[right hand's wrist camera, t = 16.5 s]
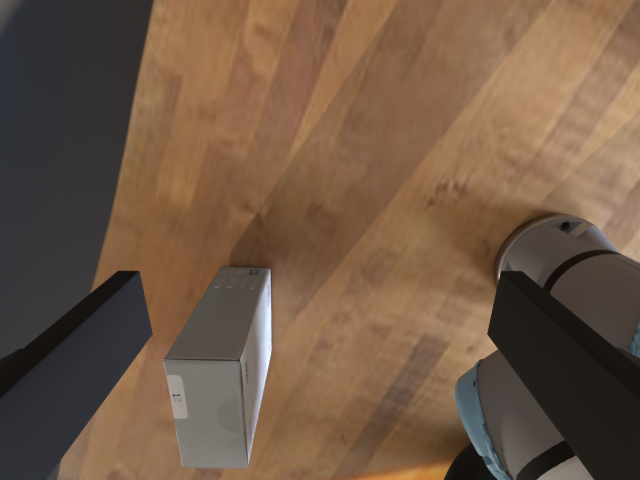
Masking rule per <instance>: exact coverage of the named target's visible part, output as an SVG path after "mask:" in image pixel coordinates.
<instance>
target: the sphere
mask: <svg viewBox="0 0 640 480" xmlns="http://www.w3.org/2000/svg"><path fill="white" fill-rule="evenodd" d="M444 480H498V479H497V478H496V477H495V476H494V475H493V474H492V473H491V471H490V470H489V469H488V467H487V466H486V464H485V462H484V459H483V457H482V456H480V455H479V454H478V452H477V451H476V449H475V447H474V445H473V444H472V443H471V444H470V445H468V446H467V447H466V448H465V449H464V450H463V451H462V452H461V453H460V454H459V455H458V456H457V457H456V459H455V460H454V461H453V463H452V464H451V466H450V468H449V469H448V471H447V474H446V476H445V478H444Z"/></svg>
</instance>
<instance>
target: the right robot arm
mask: <svg viewBox="0 0 640 480" xmlns="http://www.w3.org/2000/svg"><path fill="white" fill-rule="evenodd" d="M494 278H495V282H496V285H497V291H496V295H495V300H494V305H493V310H492V314H491V319H490V324H489V329H488V333H487V334H488V336H489V337H490V338H491V340H492V341H493V343H494V344H495V345H496V347H497V348H498V350H497V351H495V352H494V353H492V354H491V355H489V356H488V357H486V358H485V359H481V360H479V361H478V362H477V363H476V364H475V366H474V367H473V368H471V369H470V370H469V371H467V372H466V373H465V374H464V375H462V376H461V377H460V378H459V379H458V381H457V383H456V387H455V400H456V405H457V408H458V412H459V415H460V417H461V420H462V423H463V425H464V427H465V429H466V432H467V434H468V436H469V438H470V440H471V442H472V444H473V445H474V447H475V449H476V451H477V452H478V454H479V455H480V456H482V457H483V459H484V462H485V464H486V466H487V467H488V469H489V470H490V471H491V473H492V474H493V475H494V476H495V477H496V478H497V479H498V480H640V263H639V262H637V261H635V260H633V259H631V258H628V257H626V256H624V255H622V254H620V253H619V252H618V250H617V249H616V248H615V247H614V246H613V245H612V243H611V242H610V241H609V240H608V239H607V238H606V236H605V235H604V234H603V233H602V232H601V231H600V230H599V229H598V228H597V227H596V226H595V225H593V224H592V223H590V222H588V221H585V220H583V219H581V218H578V217H576V216H572V215H567V214H551V215H546V216H542V217H539V218H536V219H533V220H531V221H529V222H527V223H526V224H524V225H522V226H521V227H520V228H518V229H517V230H516V231H514V232H513V233H512V234H511V235H510V236H509V237H508V239H507V240H506V241H505V242H504V244H503V245H502V247H501V248H500V250H499V252H498V255H497V257H496V260H495V265H494ZM152 334H153V333H152V329H151V324H150V319H149V314H148V310H147V305H146V300H145V295H144V291H143V286H142V281H141V277H140V272H139V271H117V272H116V273H115V274H114V275H113V276H111V277H110V278H109V279H108V280H106V281H105V282H104V283H103V284H102V285H100V286H99V287H98V288H97V289H95V290H94V291H93V292H92V293H91V294H89V295H88V296H87V297H86V298H85V299H83V300H82V301H81V302H80V303H78V304H77V305H76V306H75V307H74V308H72V309H71V310H70V311H69V312H67V313H66V314H65V315H64V316H63V317H61V318H60V319H59V320H58V321H56V322H55V323H54V324H53V325H52V326H50V327H49V328H48V329H47V330H45V331H44V332H43V333H42V334H41V335H39V336H38V337H37V338H36V339H35V340H33V341H32V342H31V343H30V344H28V345H27V346H26V347H25V348H24V349H19V350H17V351H15V352H13V353H12V354H10V355H8V356H6V357H4V358H2V359H0V480H46V479H47V478H48V476H49V475H50V474H51V472H52V471H53V470H54V468H55V467H56V465H57V464H58V463H59V461H60V460H61V459H62V457H63V456H64V455H65V453H66V452H67V450H68V449H69V448H70V446H71V445H72V444H73V442H74V441H75V440H76V438H77V437H78V435H79V434H80V433H81V431H82V430H83V429H84V427H85V426H86V424H87V423H88V422H89V420H90V419H91V418H92V416H93V415H94V414H95V412H96V411H97V409H98V408H99V407H100V405H101V404H102V403H103V401H104V400H105V399H106V397H107V396H108V394H109V393H110V392H111V390H112V389H113V388H114V386H115V385H116V384H117V382H118V381H119V379H120V378H121V377H122V375H123V374H124V373H125V371H126V370H127V368H128V367H129V366H130V364H131V363H132V362H133V360H134V359H135V358H136V356H137V355H138V353H139V352H140V351H141V349H142V348H143V347H144V345H145V344H146V343H147V341H148V340H149V338H150V337H151V336H152Z"/></svg>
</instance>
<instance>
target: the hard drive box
mask: <svg viewBox="0 0 640 480" xmlns="http://www.w3.org/2000/svg"><path fill="white" fill-rule="evenodd" d="M271 350H272V347H271V275H270V269H268V268H256V267H221V268H220V269H219V271H218V272H217V274H216V276H215V277H214V279H213V281H212V282H211V284H210V285H209V287H208V289H207V290H206V292H205V294H204V295H203V297H202V299H201V300H200V302H199V303H198V305H197V307H196V308H195V310H194V312H193V313H192V315H191V317H190V318H189V320H188V322H187V323H186V325H185V326H184V328H183V330H182V331H181V333H180V335H179V336H178V338H177V339H176V341H175V343H174V344H173V346H172V347H171V349H170V351H169V352H168V354H167V356H166V357H165V358H164V359H163V362H164V367H165V372H166V379H167V385H168V390H169V396H170V401H171V406H172V412H173V417H174V421H175V426H176V433H177V439H178V444H179V450H180V455H181V461H182V466H183V467H196V468H236V469H246V468H247V467H248V464H249V459H250V454H251V449H252V444H253V439H254V434H255V429H256V424H257V420H258V415H259V410H260V405H261V400H262V395H263V390H264V385H265V380H266V376H267V371H268V366H269V361H270V356H271Z"/></svg>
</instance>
